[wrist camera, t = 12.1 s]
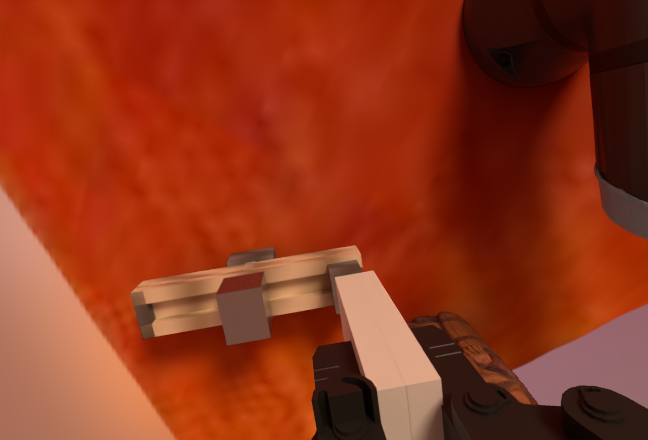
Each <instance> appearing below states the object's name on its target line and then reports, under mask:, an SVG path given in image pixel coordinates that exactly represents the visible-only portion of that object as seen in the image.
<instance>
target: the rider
mask: <svg viewBox="0 0 648 440" xmlns="http://www.w3.org/2000/svg"><path fill="white" fill-rule="evenodd" d="M216 299H217V304H218V308H219V313H220V317H221V321H222V326H223V330H224V334H225V339H226V343H227V346H228V345H233V344H239V343H244V342H250V341H256V340H261V339H267V338H271V332H272V323H273V314H272V309H271V304H270V299H269V294H268V289H267V283H266V278H265V273H264V272H258V273H252V274H246V275H240V276H234V277H229V278H224V279H223V281H222V283H221V285H220V287H219V289H218V291H217V293H216Z"/></svg>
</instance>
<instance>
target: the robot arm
mask: <svg viewBox="0 0 648 440" xmlns="http://www.w3.org/2000/svg"><path fill="white" fill-rule="evenodd" d="M463 24H464V32H465V37H466V41H467V44H468V47H469V49H470V51H471V53H472V55H473V57H474V59H475V60H476V62H477V63H478V64H479V66H480V67H481V68H482V69H483V70H484V71H485V72H486V73H487V74H488V75H490V76H491V77H492V78H494V79H496V80H497V81H499V82H502V83H504V84H507V85H510V86H516V87H533V86H538V85H543V84H547V83H551V82H554V81H557V80H560V79H562V78H564V77H566V76H568V75H570V74H572V73H573V72H575V71H576V70H578V69H579V68H580V67H582V66H583V65H584V64H586V63H587V62H588V61H589V68H590V74H589V75H590V87H591V99H592V110H593V122H594V138H595V154H596V163H595V167H594V172H595V175H596V177H597V179H598V181H599V187H600V195H601V202H602V207H603V209H604V212H605V213H606V215H607V216H608V217H609V218H610V219H611V220H612V221H613V222H614V223H616V224H617V225H619V226H621V228H623V229H624V230H626V231H628V232H630V233H632V234H634V235H637V236H639V237H642V238H644V239H647V240H648V0H465V2H464V10H463ZM335 283H336V290H337V296H338V303H339V310H340V316H341V323H342V329H343V336H344V342H340V343H335V344H329V345H324V346H318V348H317V350H316V352H315V354H314V356H313V368H314V378H315V390H314V392H313V396H312V405H313V411H314V416H315V422H316V427H317V431H316V433H315V435H314V436H313V438H312V439H311V440H648V409H647V408H645V407H643V406H641V405H639V404H638V403H636V402H634V401H633V400H631V399H629V398H627V397H625V396H623V395H621V394H619V393H616V392H614V391H612V390H609V389H605V388H601V387H596V386H576V387H572V388H569V389H568V390H566V391H565V392H564V393H563V394H562V400H561V406H546V405H531V404H524V403H520V402H519V401H518V400H517V399H516V398H515V397H514V396H513V395H512V394H511V393H509V392H508V391H507V390H506V389H504V388H502V387H499V386H497V385H495V384H491V383H487V382H486V381H485V380H484V379H483V377H482V376H481V375H480V374H479V372H478V371H477V370H476V369H475V368H474V366H473V365H472V364H471V363H470V361H469V360H468V359H467V358H466V356H465V355H464V354H463V353H461V350H460V349H459V348H458V346H457V345H456V344H454V341H453V340H452V339H451V338H450V337H449V335H448V334H447V333H446V332H445V331H443V330H441V329H440V328H438V327H436V326H434V325H427V326H422V327H416V328H411V329H409V327H408V325H407V324H406V322H405V321H404V319H403V317H402V316H401V314H400V313H399V311H398V309H397V308H396V306H395V305H394V303H393V301H392V300H391V298H390V297H389V295H388V293H387V292H386V290H385V289H384V287H383V285H382V284H381V282H380V281H379V279H378V277H377V276H376V274H375V273H374V271H368V272H362V273H356V274H351V275H345V276H339V277H335Z"/></svg>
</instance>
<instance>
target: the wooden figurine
mask: <svg viewBox="0 0 648 440" xmlns="http://www.w3.org/2000/svg"><path fill="white" fill-rule="evenodd" d="M406 324H407V325H408V327H409V329H411V328H416V327H422V326H427V325H434V326H436V327H438V328H440V329H441V330H443V331H445V332H446V333H447V334H448V335H449V337H450V338H451V339H452V340H453V341H454V344H456V345H457V346H458V348H459V349H460V350H461V353H463V354H464V355H465V356H466V358H467V359H468V360H469V361H470V363H471V364H472V365H473V366H474V368H475V369H476V370H477V371H478V372H479V374H480V375H481V376H482V377H483V379H484V380H485V381H486V382H487V383H491V384H495V385H497V386H499V387H502V388H504V389H506V390H507V391H508V392H509V393H511V394H512V395H513V396H514V397H515V398H516V399H517V400H518V401H519V402H520V403H524V404H531V405H538V403H537V402H536V400H535V399H534V398H533V397H532V395H531V394H530V393H529V392H528V390H527V388H526V387H525V386H524V384H523V383H522V382H521V381H520V380H519V379H518V377H517V376H516V375H515V374H514V373H513V371H512V370H511V369H510V368H509V367H508V366H507V365H506V364H505V363H504V362H503V361H502V360H501V358H500V357H499V356H498V355H497V354H496V353H495V352H494V351H493V350H492V349H491V348H490V347H489V346H488V345H487V344H486V343H485V341H484V340H483V339H482V338H481V337H480V336H479V335H478V334H477V332H476V331H475V330H474V329H473V328H472V327H471V326H470V325H469V324H468V323H467V322H466V321H464V320H463V319H462V318H460V317H459V316H457V315H455V314H452V313H448V312H441V313H439V314H438V316H437V317H429V316H426V317H417V318H415V319H414V320H413V321H412V323H406Z"/></svg>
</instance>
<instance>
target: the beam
mask: <svg viewBox="0 0 648 440" xmlns="http://www.w3.org/2000/svg"><path fill="white" fill-rule="evenodd" d="M227 266H228V267H224V268H218V269H212V270H206V271H200V272H194V273H188V274H182V275H176V276H170V277H164V278H158V279H152V280H146V281H143V282H142V283H140V284H139V285H138V286H137V287H136V288H135V289H134V290H133V291H132V292H131V293H130V294H131V298H132V301H133V305H134V308H135V312H136V315H137V319H138V322H139V326H140V329H141V333H142V336H143V339H145V338H151V337H157V336H162V335H168V334H174V333H179V332H185V331H191V330H196V329H202V328H208V327H213V326H219V325H222V321H221V317H220V313H219V308H218V304H217V299H216V293H217V291H218V289H219V287H220V285H221V283H222V281H223V279H224V278H229V277H234V276H240V275H246V274H252V273H258V272H264V273H265V278H266V283H267V289H268V294H269V299H270V304H271V309H272V314H273V316H276V315H282V314H287V313H293V312H299V311H304V310H310V309H316V308H321V307H327V306H333V305H334V307H335V311H336V314H340V310H339V303H338V296H337V290H336V283H335V277H339V276H345V275H351V274H356V273H362V269H361V267H362V260H361V254H360V252H359V250H358V249H357V247H356V245H354V246H349V247H343V248H337V249H331V250H325V251H319V252H313V253H307V254H301V255H295V256H289V257H283V258H277V259H276V253H275V248H274V247H271V248H265V249H259V250H253V251H247V252H241V253H235V254H231V255H230V257H229V259H228V261H227Z"/></svg>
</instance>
